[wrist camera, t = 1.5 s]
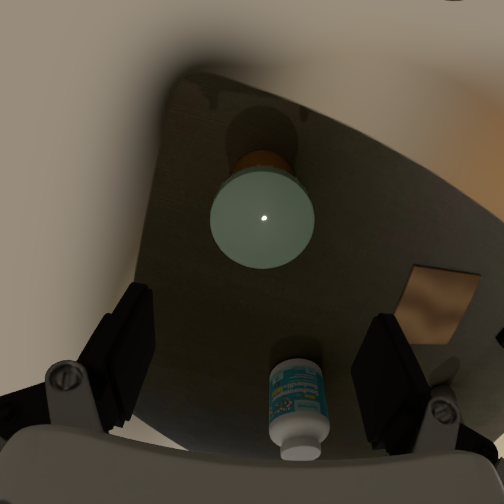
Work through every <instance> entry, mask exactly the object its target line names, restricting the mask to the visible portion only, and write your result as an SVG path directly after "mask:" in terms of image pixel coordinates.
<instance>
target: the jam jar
mask: <svg viewBox="0 0 504 504" xmlns="http://www.w3.org/2000/svg"><path fill="white" fill-rule="evenodd" d="M258 165H259V166H273V167H275V168H279V169H281V170H286V172H287V173H289V174H291V175H292V176H293V177H296V176H295V174H294V172H293V170H292V168H291V166H290V164H289V163H288V162H287V161H286V160H285V159H284V158H283V157H282V156H280V155H279V154H277V153H274V152H271V151H266V150H258V151H253V152H250V153H248V154H246V155H244V156H243V157H242V158H240V159H239V160H238V161H237V163H236V164H235V165H234V167H233V169H232V171H231V173H230V176H229V178H230V177H231V176H232V174H233V173H234V174H235V173H237V172H239V171H241V170H243V169H244V168H245V167H246V168H249V167H254V166H258ZM229 178H228V179H229Z"/></svg>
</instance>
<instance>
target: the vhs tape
mask: <svg viewBox="0 0 504 504" xmlns="http://www.w3.org/2000/svg"><path fill="white" fill-rule="evenodd" d="M496 340H497V341H498V342H499V344H500V345H501V346H502V347H503V348H504V329H503V330H502V331H501V332H500V333H499V335H498V336H497V337H496Z"/></svg>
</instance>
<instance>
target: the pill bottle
mask: <svg viewBox="0 0 504 504" xmlns="http://www.w3.org/2000/svg"><path fill="white" fill-rule="evenodd" d="M329 429H330V426H329V418H328V411H327V404H326V397H325V390H324V383H323V377H322V372H321V369H320V368H319V366H318V365H317V364H315V363H314V362H312V361H310V360H307V359H300V358H298V359H290V360H286V361H284V362H281V363H280V364H278V365H277V366H276V367H275V368H274V369H273V370H272V372H271V374H270V389H269V435H270V437H271V439H272V441H273V442H274V443H275V444H277V445H279V446H281V458H282V459H284V460H293V461H311V460H314V459H316V458H317V457H319V456H320V454H321V445H320V443H321V442H322V441H323V440H324V439H325V438H326V437H327V435H328V433H329Z"/></svg>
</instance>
